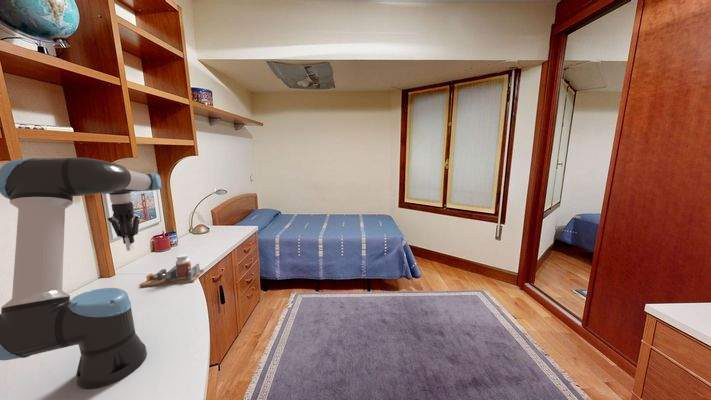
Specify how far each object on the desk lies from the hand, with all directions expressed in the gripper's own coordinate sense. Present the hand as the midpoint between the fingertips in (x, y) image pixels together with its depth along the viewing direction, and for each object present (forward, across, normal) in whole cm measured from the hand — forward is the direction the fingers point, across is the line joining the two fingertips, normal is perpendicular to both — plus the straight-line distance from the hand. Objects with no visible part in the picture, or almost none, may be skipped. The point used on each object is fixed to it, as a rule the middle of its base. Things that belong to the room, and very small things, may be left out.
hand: (130, 249), depth 127 cm
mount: (+17, -17, 0) cm, 25 cm away
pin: (+16, -10, 0) cm, 19 cm away
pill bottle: (+17, -23, 0) cm, 28 cm away
